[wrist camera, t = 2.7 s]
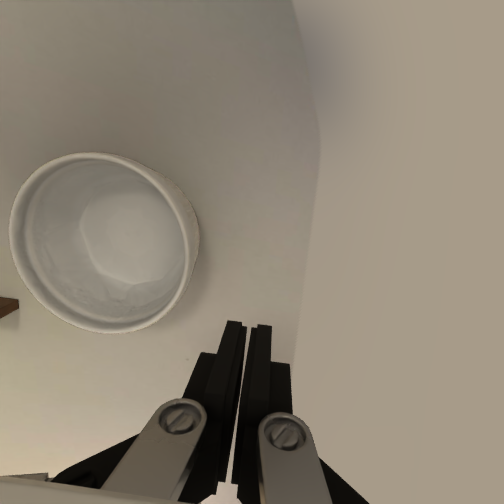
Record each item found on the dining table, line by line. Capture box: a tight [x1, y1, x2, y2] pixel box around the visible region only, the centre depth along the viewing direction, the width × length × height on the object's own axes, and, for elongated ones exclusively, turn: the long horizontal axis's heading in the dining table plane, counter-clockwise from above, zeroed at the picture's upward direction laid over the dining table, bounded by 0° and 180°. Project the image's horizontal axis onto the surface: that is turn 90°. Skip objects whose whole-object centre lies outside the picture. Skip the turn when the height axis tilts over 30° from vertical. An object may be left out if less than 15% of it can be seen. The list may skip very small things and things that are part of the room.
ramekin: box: [9, 152, 200, 334], centre depth 25 cm, size 13×13×7 cm
